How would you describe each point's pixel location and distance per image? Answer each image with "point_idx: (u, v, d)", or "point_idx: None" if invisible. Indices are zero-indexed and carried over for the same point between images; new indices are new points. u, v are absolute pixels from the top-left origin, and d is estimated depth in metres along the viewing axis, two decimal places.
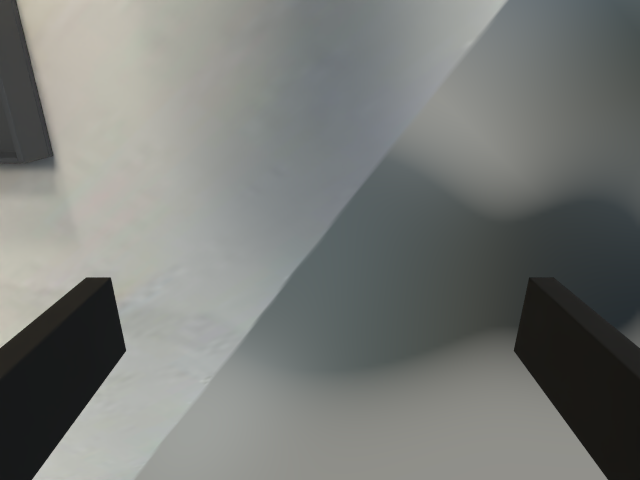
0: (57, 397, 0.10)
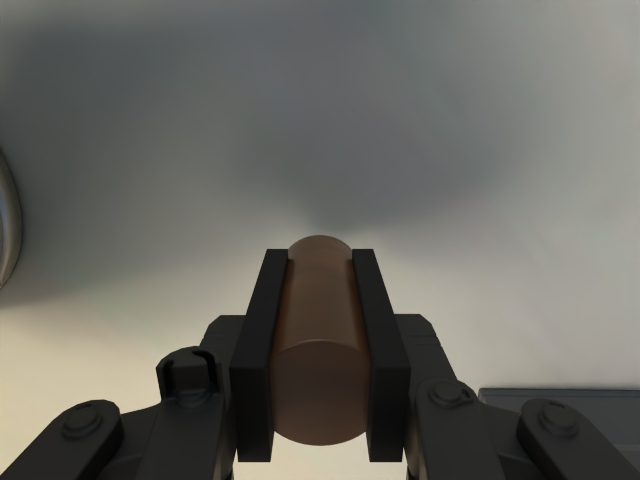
0: None
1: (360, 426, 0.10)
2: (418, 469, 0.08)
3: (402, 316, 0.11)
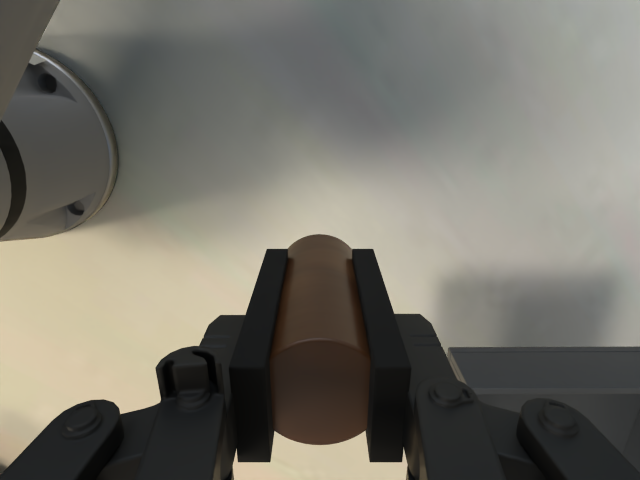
0: None
1: (360, 425, 0.10)
2: (418, 469, 0.08)
3: (402, 316, 0.11)
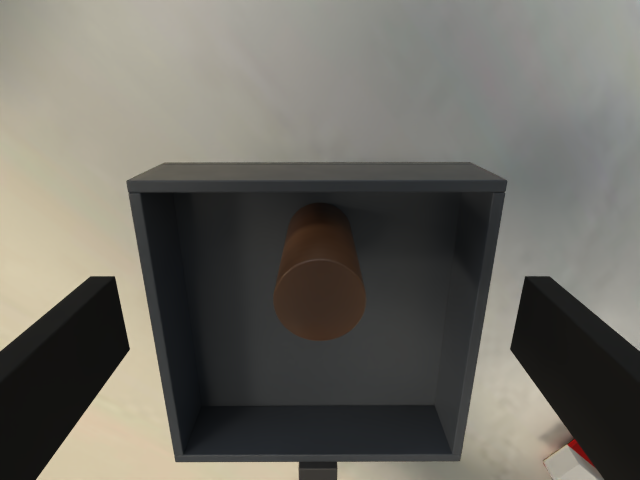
0: (62, 395, 0.10)
1: (348, 325, 0.14)
2: None
3: None
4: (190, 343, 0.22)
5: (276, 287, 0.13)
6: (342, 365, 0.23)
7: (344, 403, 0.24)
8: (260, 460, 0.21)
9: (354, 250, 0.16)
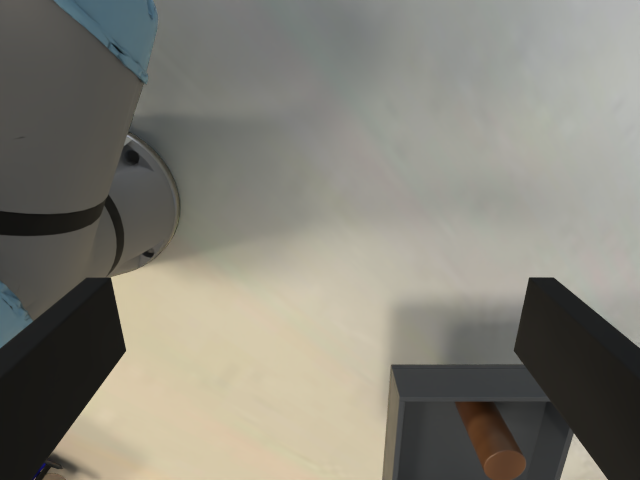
0: (57, 397, 0.10)
1: (516, 475, 0.31)
2: None
3: None
4: None
5: (486, 460, 0.30)
6: (474, 464, 0.40)
7: None
8: None
9: None
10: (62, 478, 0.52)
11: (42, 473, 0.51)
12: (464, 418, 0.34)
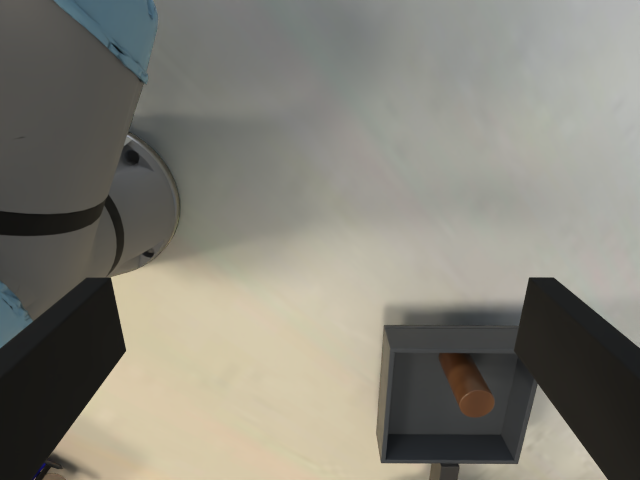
0: (57, 397, 0.10)
1: (486, 412, 0.37)
2: None
3: None
4: None
5: (462, 399, 0.36)
6: (456, 415, 0.46)
7: (454, 433, 0.47)
8: (422, 462, 0.44)
9: None
10: (62, 478, 0.52)
11: (42, 473, 0.51)
12: (445, 369, 0.41)
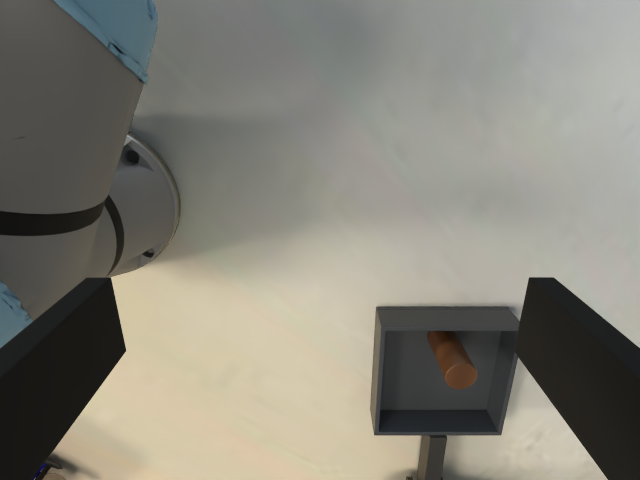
0: (57, 397, 0.10)
1: (470, 383, 0.40)
2: None
3: None
4: None
5: (447, 372, 0.40)
6: (444, 391, 0.49)
7: (443, 408, 0.50)
8: (412, 434, 0.47)
9: (466, 352, 0.42)
10: (62, 478, 0.52)
11: (42, 473, 0.51)
12: (433, 347, 0.44)
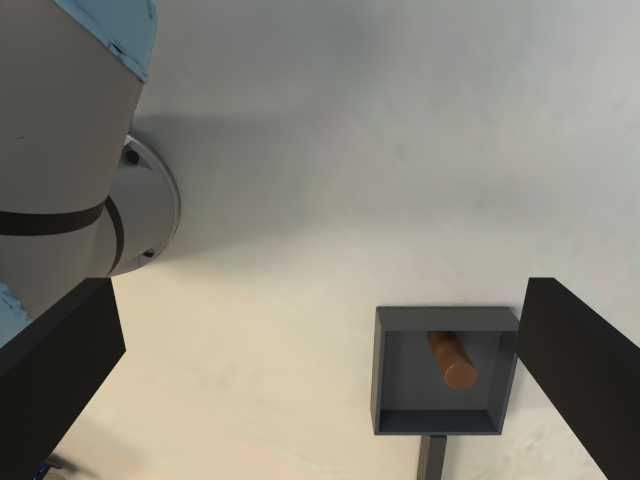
0: (57, 397, 0.10)
1: (469, 383, 0.40)
2: None
3: None
4: None
5: (446, 371, 0.40)
6: (444, 391, 0.49)
7: (443, 408, 0.50)
8: (412, 434, 0.47)
9: None
10: (62, 478, 0.52)
11: (42, 473, 0.51)
12: (433, 347, 0.44)
